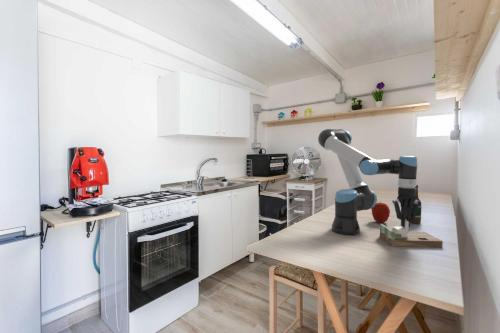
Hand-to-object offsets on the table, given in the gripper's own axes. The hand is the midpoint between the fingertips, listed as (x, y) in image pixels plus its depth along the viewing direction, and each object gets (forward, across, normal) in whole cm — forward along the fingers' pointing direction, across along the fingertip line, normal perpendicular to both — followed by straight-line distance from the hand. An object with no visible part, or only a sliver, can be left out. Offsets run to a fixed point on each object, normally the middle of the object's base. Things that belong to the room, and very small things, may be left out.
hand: (405, 233), depth 122 cm
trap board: (+4, +2, 0) cm, 5 cm away
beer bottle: (+5, +24, +33) cm, 41 cm away
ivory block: (+1, -3, 0) cm, 3 cm away
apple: (+5, +3, +32) cm, 33 cm away
